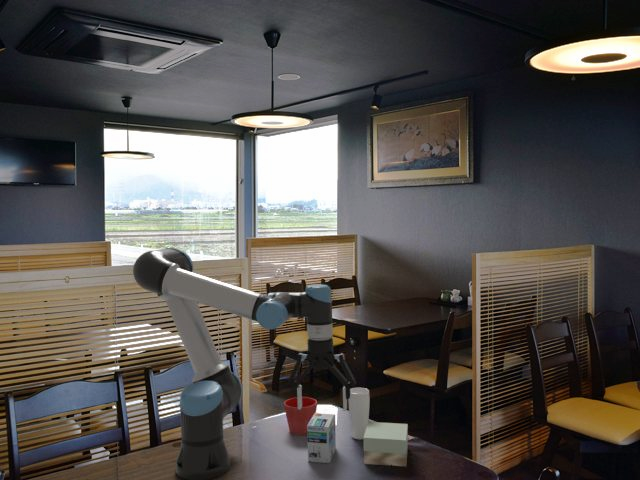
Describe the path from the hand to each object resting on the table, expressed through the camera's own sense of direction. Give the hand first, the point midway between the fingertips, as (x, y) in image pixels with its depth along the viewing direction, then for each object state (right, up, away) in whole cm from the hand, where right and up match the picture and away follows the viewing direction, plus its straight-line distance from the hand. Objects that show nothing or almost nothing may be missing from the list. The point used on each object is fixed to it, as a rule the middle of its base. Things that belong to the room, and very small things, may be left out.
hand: (322, 408), depth 162 cm
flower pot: (-7, -13, +19) cm, 24 cm away
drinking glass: (+12, -13, +13) cm, 22 cm away
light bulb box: (0, -14, +1) cm, 14 cm away
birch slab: (+19, -14, -1) cm, 24 cm away
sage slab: (+19, -10, -1) cm, 21 cm away
